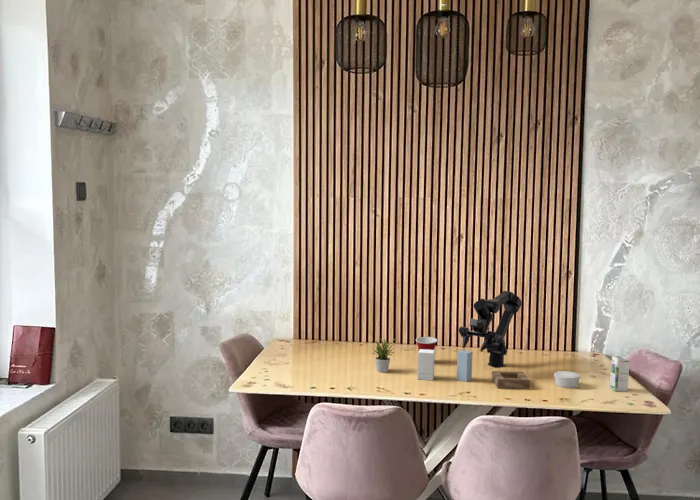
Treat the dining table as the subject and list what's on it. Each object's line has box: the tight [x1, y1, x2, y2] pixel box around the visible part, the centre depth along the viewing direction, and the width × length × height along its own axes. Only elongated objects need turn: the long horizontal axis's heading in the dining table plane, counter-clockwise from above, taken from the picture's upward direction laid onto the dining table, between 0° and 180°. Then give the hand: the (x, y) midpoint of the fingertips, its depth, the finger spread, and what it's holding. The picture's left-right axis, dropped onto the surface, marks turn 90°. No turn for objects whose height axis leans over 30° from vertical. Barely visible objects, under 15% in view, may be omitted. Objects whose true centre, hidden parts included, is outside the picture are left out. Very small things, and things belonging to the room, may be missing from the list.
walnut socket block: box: [491, 370, 531, 390], centre depth 303 cm, size 14×14×4 cm
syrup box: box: [609, 355, 630, 392], centre depth 297 cm, size 6×6×14 cm
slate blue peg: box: [456, 349, 474, 383], centre depth 309 cm, size 5×5×13 cm
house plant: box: [369, 337, 397, 373], centre depth 320 cm, size 14×14×16 cm
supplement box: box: [416, 349, 436, 381], centre depth 310 cm, size 7×7×13 cm
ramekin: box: [553, 370, 581, 389], centre depth 303 cm, size 11×11×5 cm
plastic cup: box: [415, 336, 438, 352], centre depth 338 cm, size 11×11×12 cm
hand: (471, 349), depth 313 cm, fingers open, 9 cm apart
